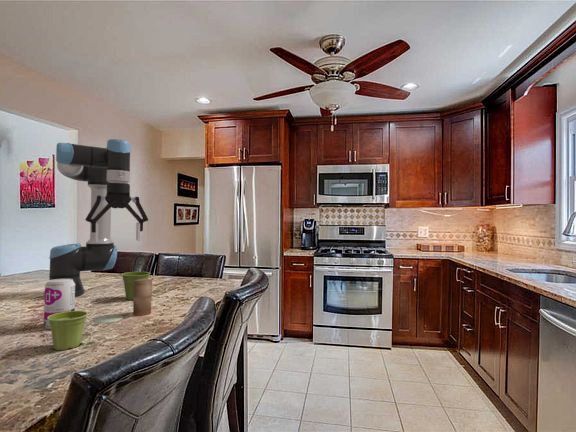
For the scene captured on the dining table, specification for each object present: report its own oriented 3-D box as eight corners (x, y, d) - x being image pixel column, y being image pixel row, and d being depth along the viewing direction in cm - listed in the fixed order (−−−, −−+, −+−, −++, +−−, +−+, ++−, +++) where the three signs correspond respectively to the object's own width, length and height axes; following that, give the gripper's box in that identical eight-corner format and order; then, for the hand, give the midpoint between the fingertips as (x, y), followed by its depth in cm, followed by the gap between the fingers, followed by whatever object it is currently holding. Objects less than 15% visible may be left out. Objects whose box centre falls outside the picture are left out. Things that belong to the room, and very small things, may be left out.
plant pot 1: (59, 340, 95) (60, 310, 95) (93, 339, 95) (94, 310, 96) (37, 353, 85) (38, 320, 85) (75, 352, 86) (76, 319, 86)
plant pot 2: (142, 302, 139) (142, 275, 140) (115, 301, 140) (115, 275, 140) (154, 295, 151) (154, 271, 151) (129, 295, 152) (129, 271, 152)
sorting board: (89, 318, 115) (89, 315, 115) (149, 310, 127) (149, 306, 127) (96, 331, 102) (96, 327, 102) (161, 320, 115) (161, 316, 115)
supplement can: (58, 331, 102) (59, 283, 103) (37, 328, 104) (38, 281, 104) (80, 323, 110) (81, 278, 111) (59, 321, 112) (60, 277, 112)
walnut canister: (131, 312, 119) (132, 279, 119) (148, 310, 122) (149, 278, 123) (135, 316, 114) (136, 282, 114) (153, 314, 118) (153, 280, 118)
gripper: (78, 180, 108) (78, 243, 109) (156, 184, 123) (156, 240, 123) (76, 181, 114) (76, 241, 115) (151, 185, 129) (151, 238, 129)
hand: (118, 241), depth 119 cm, fingers open, 13 cm apart
